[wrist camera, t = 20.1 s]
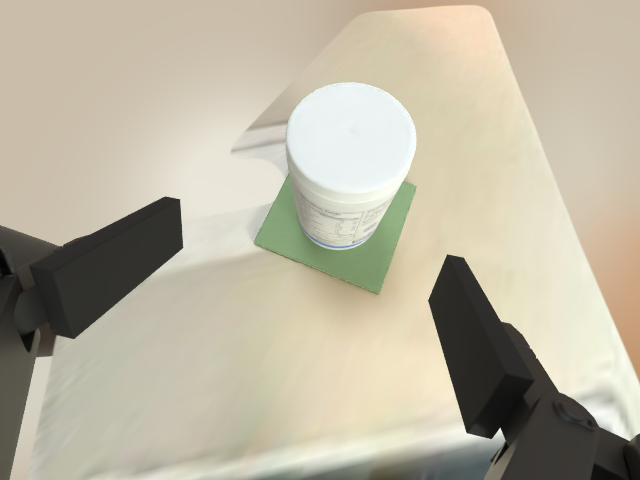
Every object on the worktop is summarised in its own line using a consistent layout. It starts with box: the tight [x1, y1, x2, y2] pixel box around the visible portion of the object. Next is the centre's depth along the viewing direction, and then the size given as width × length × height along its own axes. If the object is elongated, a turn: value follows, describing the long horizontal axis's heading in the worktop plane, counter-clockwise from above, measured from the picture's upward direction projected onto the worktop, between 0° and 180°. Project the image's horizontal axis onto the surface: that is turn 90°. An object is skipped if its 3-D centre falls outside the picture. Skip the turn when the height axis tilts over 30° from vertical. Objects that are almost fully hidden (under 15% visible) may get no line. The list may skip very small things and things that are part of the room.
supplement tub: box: [286, 82, 416, 250], centre depth 28 cm, size 10×10×15 cm
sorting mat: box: [254, 173, 416, 294], centre depth 35 cm, size 15×14×1 cm
